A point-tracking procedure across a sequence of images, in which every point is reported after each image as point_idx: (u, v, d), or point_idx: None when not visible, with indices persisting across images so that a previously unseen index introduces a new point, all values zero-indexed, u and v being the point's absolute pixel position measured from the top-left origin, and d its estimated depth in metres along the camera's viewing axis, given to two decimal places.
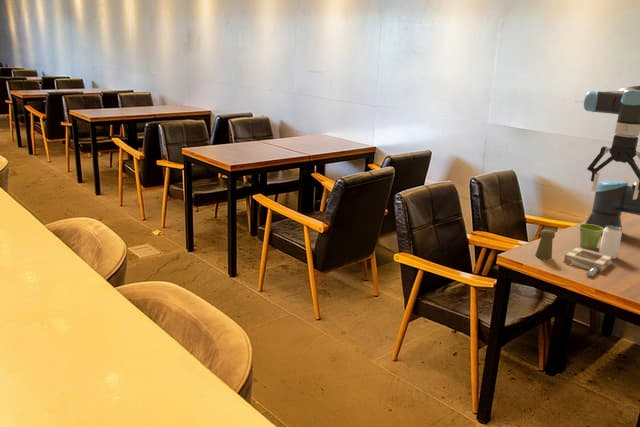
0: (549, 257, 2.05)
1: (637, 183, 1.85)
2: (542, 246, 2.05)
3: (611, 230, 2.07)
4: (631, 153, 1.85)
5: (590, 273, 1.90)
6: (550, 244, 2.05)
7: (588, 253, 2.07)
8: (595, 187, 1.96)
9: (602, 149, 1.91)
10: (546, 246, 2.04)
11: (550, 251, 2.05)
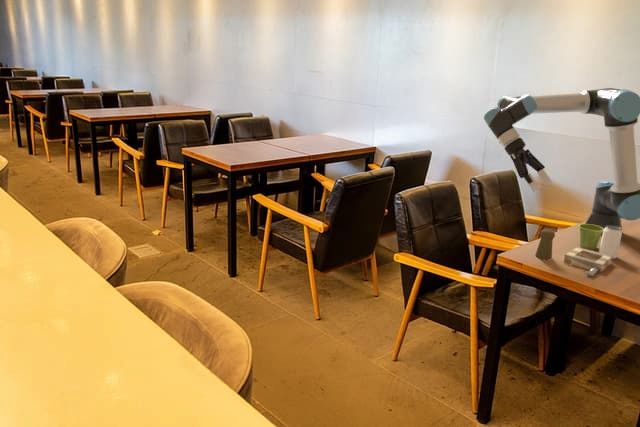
0: (549, 257, 2.05)
1: None
2: (542, 246, 2.05)
3: (611, 230, 2.07)
4: None
5: (590, 273, 1.90)
6: (550, 244, 2.05)
7: (588, 253, 2.07)
8: (546, 181, 2.13)
9: None
10: (546, 246, 2.04)
11: (550, 251, 2.05)
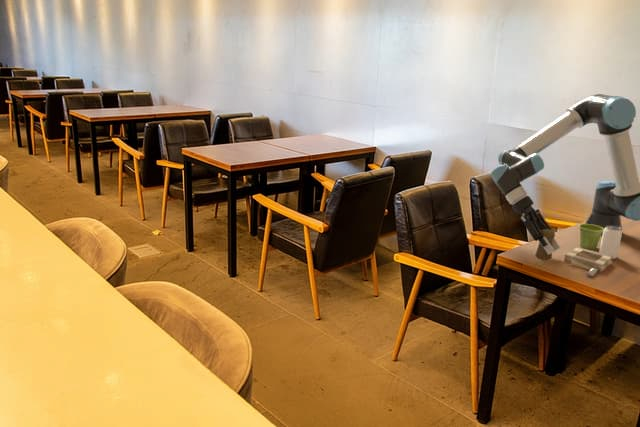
0: (549, 257, 2.05)
1: None
2: (542, 246, 2.05)
3: (611, 230, 2.07)
4: None
5: (590, 273, 1.90)
6: None
7: (588, 253, 2.07)
8: (554, 246, 2.07)
9: None
10: None
11: None
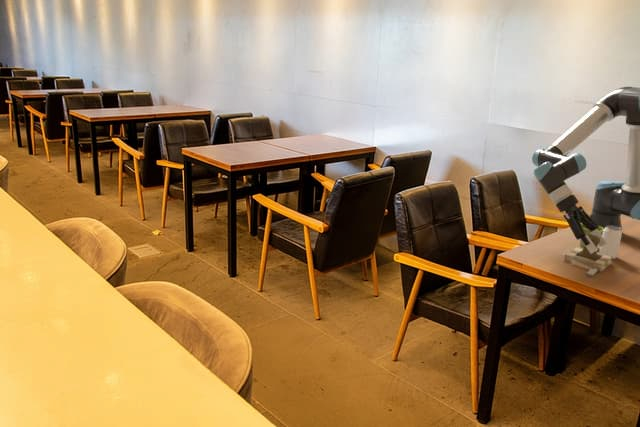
0: None
1: None
2: (586, 252, 2.01)
3: (611, 230, 2.07)
4: None
5: (590, 273, 1.90)
6: None
7: None
8: (601, 242, 2.04)
9: None
10: None
11: (595, 257, 2.01)
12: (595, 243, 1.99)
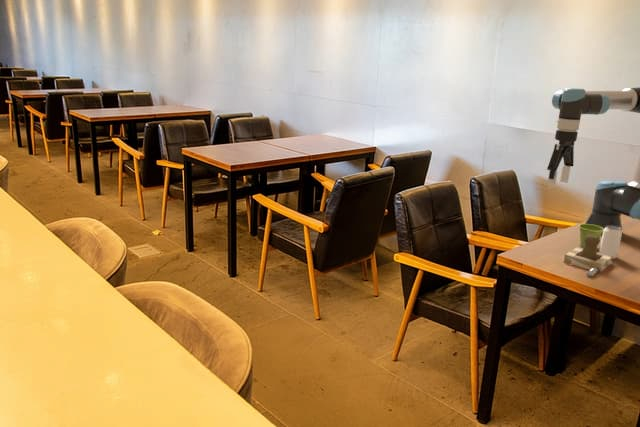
0: None
1: None
2: (586, 252, 2.01)
3: (611, 230, 2.07)
4: None
5: (590, 273, 1.90)
6: (595, 250, 2.00)
7: None
8: (563, 178, 2.13)
9: None
10: (591, 252, 2.00)
11: (595, 257, 2.01)
12: (595, 243, 1.99)
